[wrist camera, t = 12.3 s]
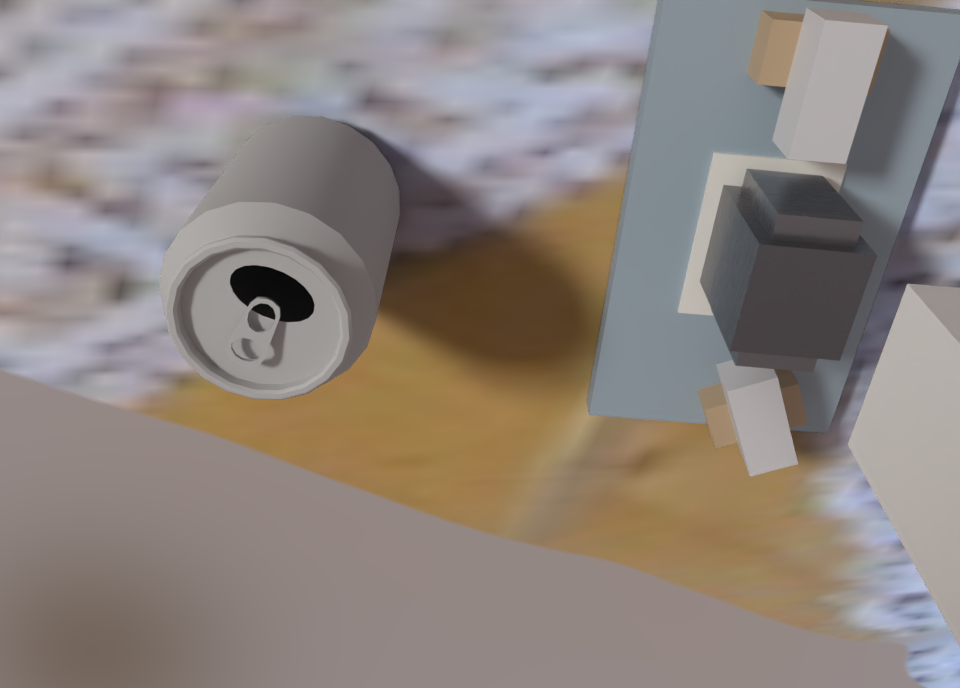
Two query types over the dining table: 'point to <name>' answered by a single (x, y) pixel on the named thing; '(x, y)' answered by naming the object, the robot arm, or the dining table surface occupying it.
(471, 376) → the dining table surface
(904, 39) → the rig
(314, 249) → the can
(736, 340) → the stepped grey block
